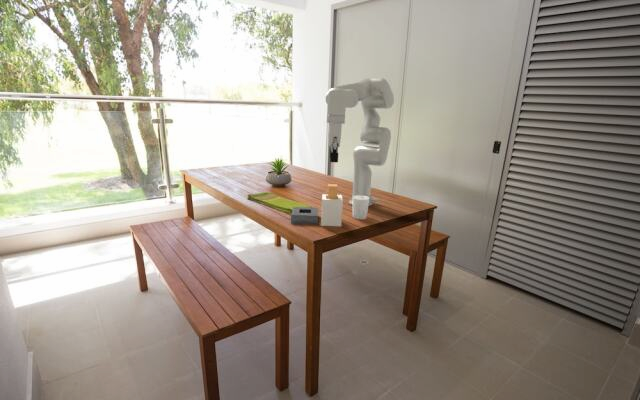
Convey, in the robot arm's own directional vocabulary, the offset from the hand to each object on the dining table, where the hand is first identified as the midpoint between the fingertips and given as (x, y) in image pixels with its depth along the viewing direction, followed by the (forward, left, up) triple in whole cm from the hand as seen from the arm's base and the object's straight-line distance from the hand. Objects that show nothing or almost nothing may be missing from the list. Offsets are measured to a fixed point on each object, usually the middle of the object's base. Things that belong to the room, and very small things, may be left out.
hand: (333, 160), depth 141 cm
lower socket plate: (+12, -3, -29) cm, 31 cm away
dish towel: (+27, -26, -29) cm, 48 cm away
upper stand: (0, 0, -29) cm, 29 cm away
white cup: (-14, -9, -29) cm, 33 cm away
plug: (0, 0, -20) cm, 20 cm away
